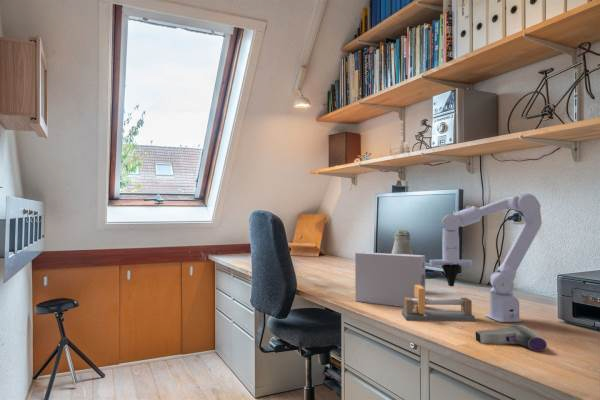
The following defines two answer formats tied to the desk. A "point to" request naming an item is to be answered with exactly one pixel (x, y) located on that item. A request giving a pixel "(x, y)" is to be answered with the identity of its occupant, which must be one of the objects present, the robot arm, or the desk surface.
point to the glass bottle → (402, 243)
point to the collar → (420, 298)
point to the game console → (387, 277)
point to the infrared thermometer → (512, 337)
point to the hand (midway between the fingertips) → (451, 285)
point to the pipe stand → (439, 315)
